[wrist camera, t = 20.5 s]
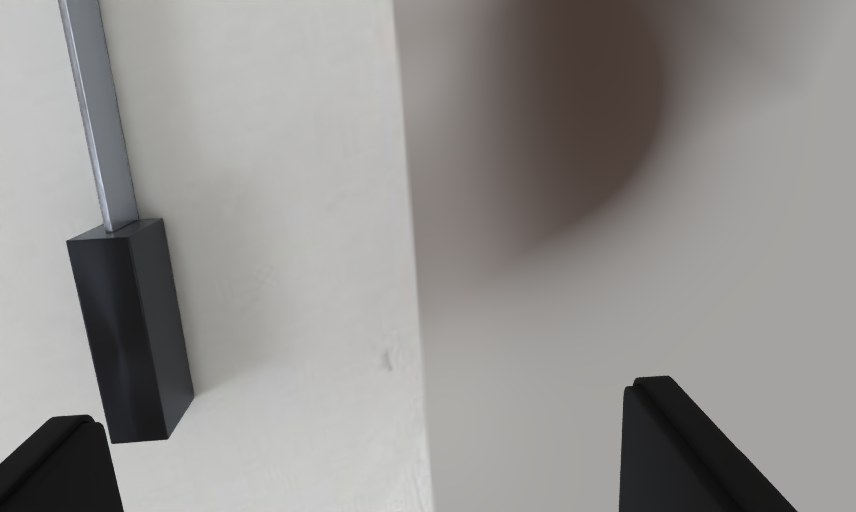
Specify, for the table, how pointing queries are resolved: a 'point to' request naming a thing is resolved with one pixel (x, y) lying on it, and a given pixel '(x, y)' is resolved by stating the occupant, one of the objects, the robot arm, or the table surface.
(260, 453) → the table surface
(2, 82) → the table surface
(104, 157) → the screwdriver
